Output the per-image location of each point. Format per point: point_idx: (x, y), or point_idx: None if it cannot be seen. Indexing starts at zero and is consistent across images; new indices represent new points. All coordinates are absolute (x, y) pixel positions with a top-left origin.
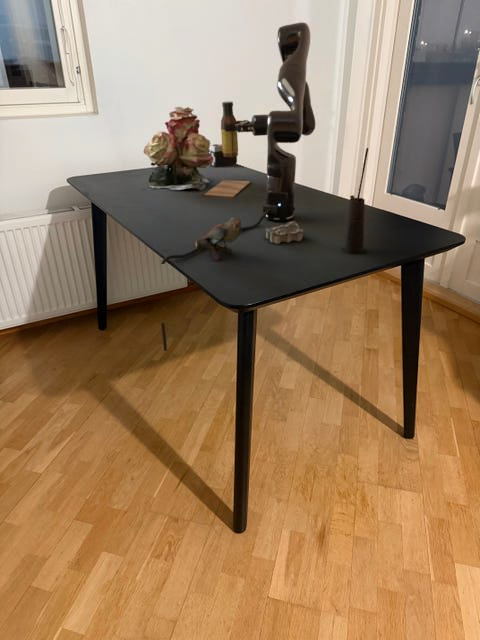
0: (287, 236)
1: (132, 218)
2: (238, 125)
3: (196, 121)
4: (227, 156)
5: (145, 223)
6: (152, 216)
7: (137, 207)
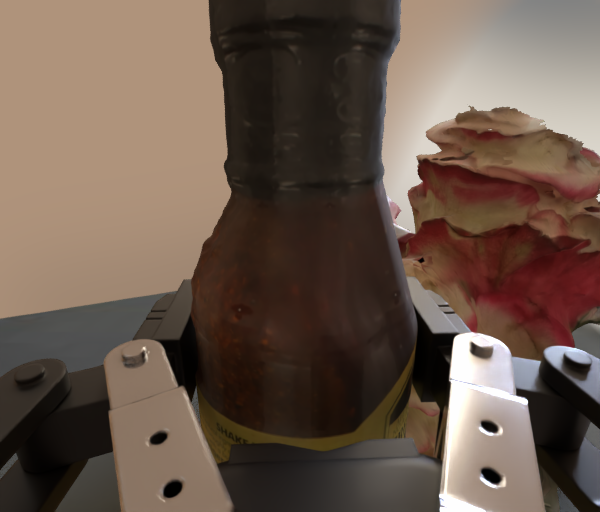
0: None
1: (84, 317)
2: (22, 368)
3: (577, 220)
4: None
5: (22, 333)
6: (63, 344)
7: None
